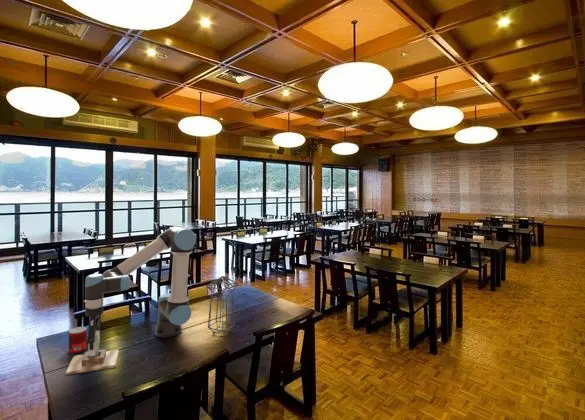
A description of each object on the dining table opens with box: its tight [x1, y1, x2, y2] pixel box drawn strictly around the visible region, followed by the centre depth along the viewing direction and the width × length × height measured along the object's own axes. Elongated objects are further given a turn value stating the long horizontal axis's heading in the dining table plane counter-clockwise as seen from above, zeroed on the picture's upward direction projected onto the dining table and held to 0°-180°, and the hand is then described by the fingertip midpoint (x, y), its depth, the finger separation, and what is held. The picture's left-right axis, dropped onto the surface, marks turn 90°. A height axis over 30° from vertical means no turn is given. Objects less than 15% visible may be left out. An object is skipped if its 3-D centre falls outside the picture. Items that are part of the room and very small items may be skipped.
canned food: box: [68, 326, 88, 354], centre depth 173 cm, size 8×8×11 cm
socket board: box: [65, 348, 120, 375], centre depth 162 cm, size 20×16×4 cm
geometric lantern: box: [205, 275, 239, 336], centre depth 199 cm, size 16×16×35 cm
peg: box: [89, 333, 100, 358], centre depth 161 cm, size 4×4×14 cm
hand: (94, 349), depth 161 cm, fingers open, 13 cm apart
